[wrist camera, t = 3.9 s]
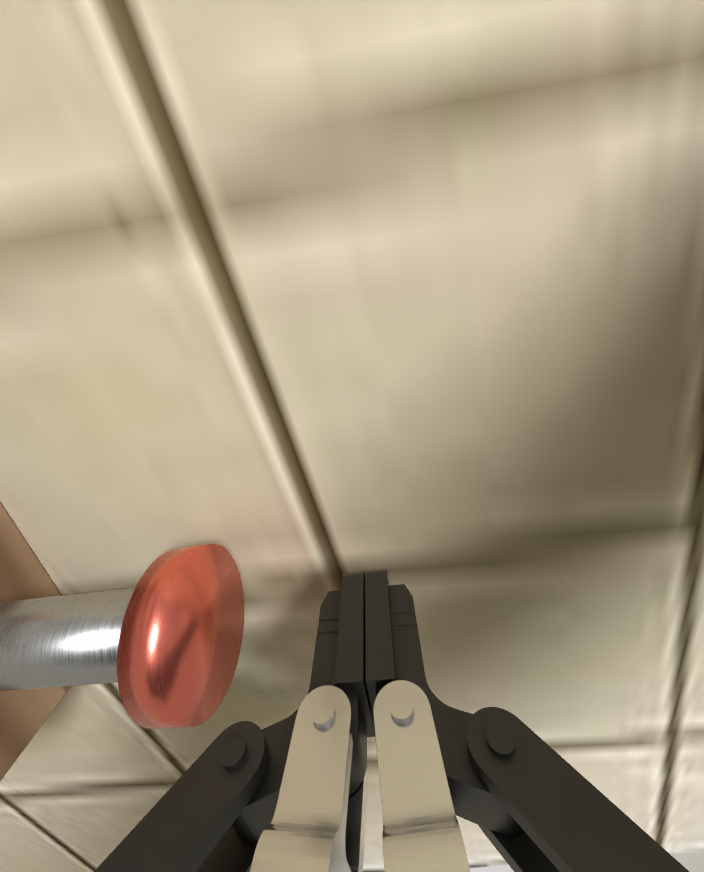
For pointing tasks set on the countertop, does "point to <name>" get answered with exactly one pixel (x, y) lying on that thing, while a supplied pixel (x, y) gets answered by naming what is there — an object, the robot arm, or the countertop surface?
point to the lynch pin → (137, 638)
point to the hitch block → (29, 708)
